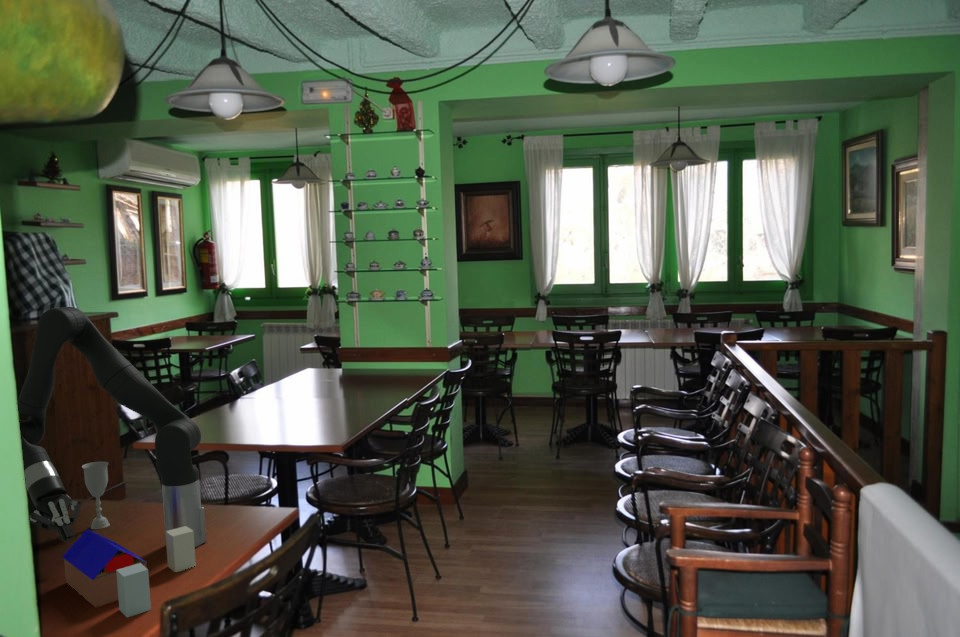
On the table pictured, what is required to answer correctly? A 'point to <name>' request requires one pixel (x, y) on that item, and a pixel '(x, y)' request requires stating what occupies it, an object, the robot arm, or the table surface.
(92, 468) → the chalice
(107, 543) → the house
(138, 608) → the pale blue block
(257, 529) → the table surface
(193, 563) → the cream block
